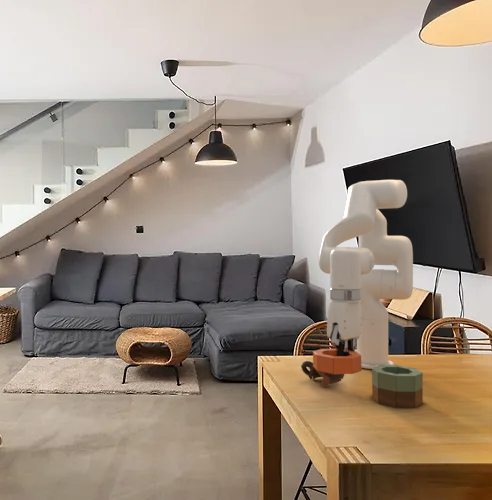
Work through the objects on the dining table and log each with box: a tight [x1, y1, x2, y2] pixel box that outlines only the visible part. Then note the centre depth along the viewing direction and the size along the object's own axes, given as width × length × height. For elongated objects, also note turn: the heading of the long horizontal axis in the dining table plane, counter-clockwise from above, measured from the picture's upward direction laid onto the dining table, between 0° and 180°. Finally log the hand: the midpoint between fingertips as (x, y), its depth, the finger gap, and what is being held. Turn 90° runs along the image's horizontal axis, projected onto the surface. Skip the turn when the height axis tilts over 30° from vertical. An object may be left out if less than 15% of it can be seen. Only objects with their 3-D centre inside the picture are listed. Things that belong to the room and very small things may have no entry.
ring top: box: [312, 348, 362, 375], centre depth 138 cm, size 11×11×4 cm
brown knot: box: [300, 360, 345, 388], centre depth 156 cm, size 12×10×8 cm
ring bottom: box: [371, 382, 424, 409], centre depth 138 cm, size 11×11×4 cm
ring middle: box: [371, 364, 424, 392], centre depth 138 cm, size 11×11×4 cm
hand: (345, 364), depth 141 cm, fingers closed on ring top, 2 cm apart
